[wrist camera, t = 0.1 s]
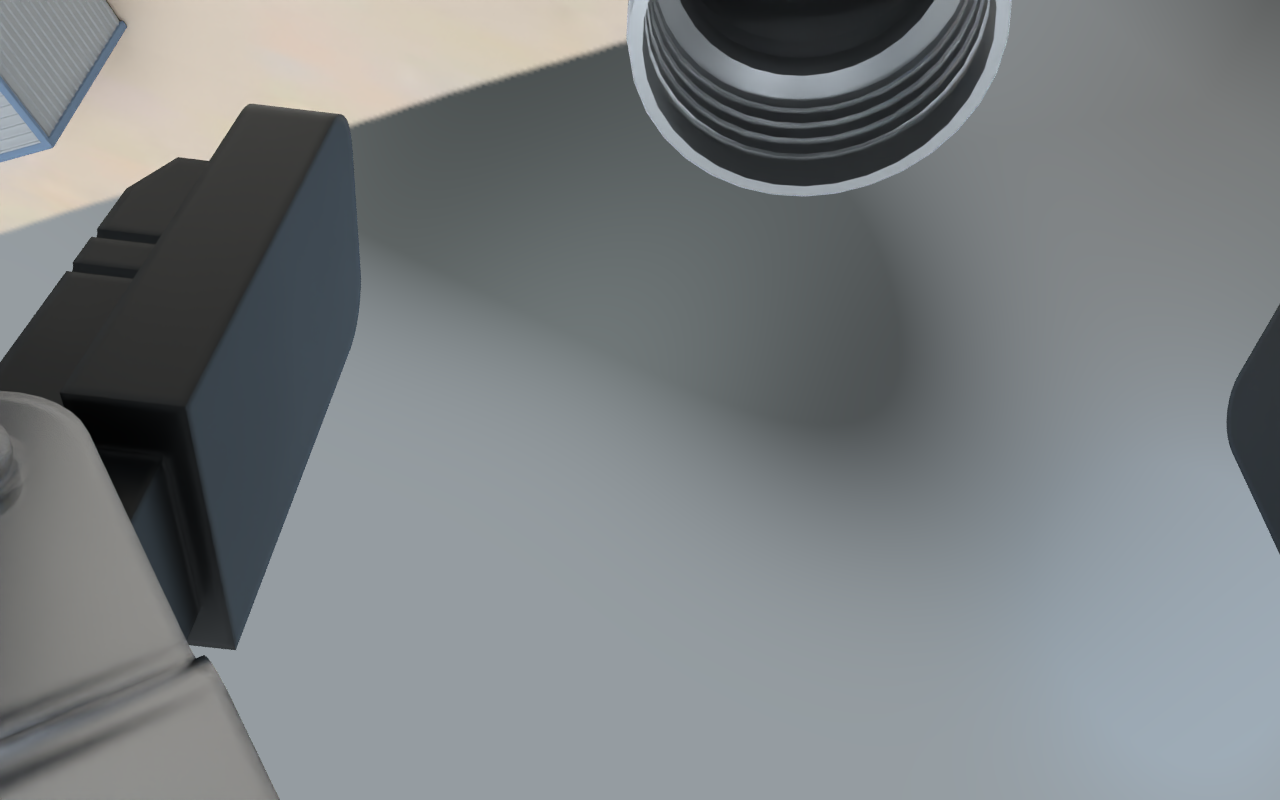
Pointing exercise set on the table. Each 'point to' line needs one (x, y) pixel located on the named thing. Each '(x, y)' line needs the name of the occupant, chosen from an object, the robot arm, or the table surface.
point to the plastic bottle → (812, 83)
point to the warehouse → (48, 67)
